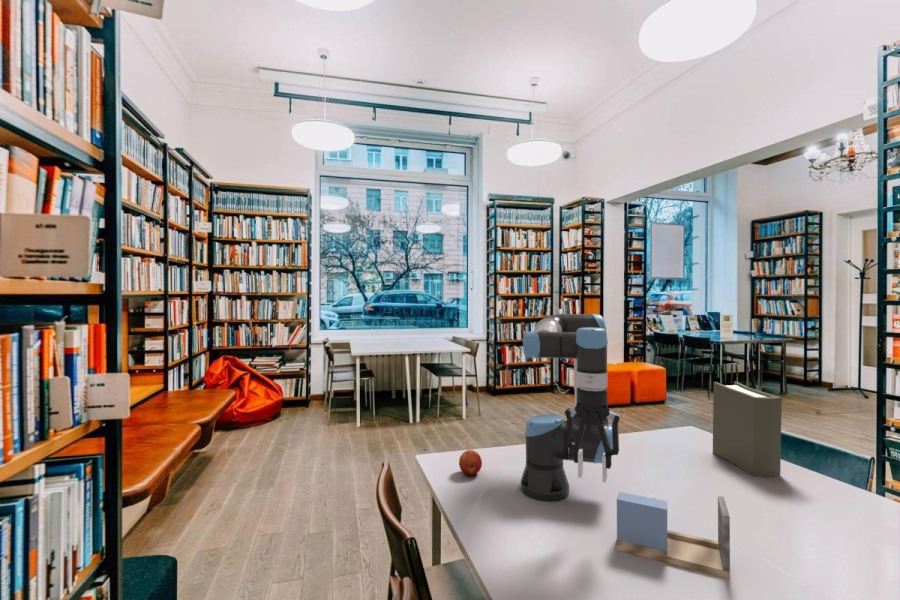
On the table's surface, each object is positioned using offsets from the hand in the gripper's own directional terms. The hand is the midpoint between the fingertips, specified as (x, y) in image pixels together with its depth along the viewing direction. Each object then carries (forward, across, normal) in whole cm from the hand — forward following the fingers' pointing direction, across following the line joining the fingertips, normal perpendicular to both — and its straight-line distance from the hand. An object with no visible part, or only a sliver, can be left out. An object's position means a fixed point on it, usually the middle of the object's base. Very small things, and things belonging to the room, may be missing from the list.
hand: (592, 477), depth 106 cm
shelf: (+15, +18, +1) cm, 23 cm away
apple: (+15, -44, +19) cm, 50 cm away
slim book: (+13, +12, 0) cm, 18 cm away
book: (+15, +42, +71) cm, 84 cm away
